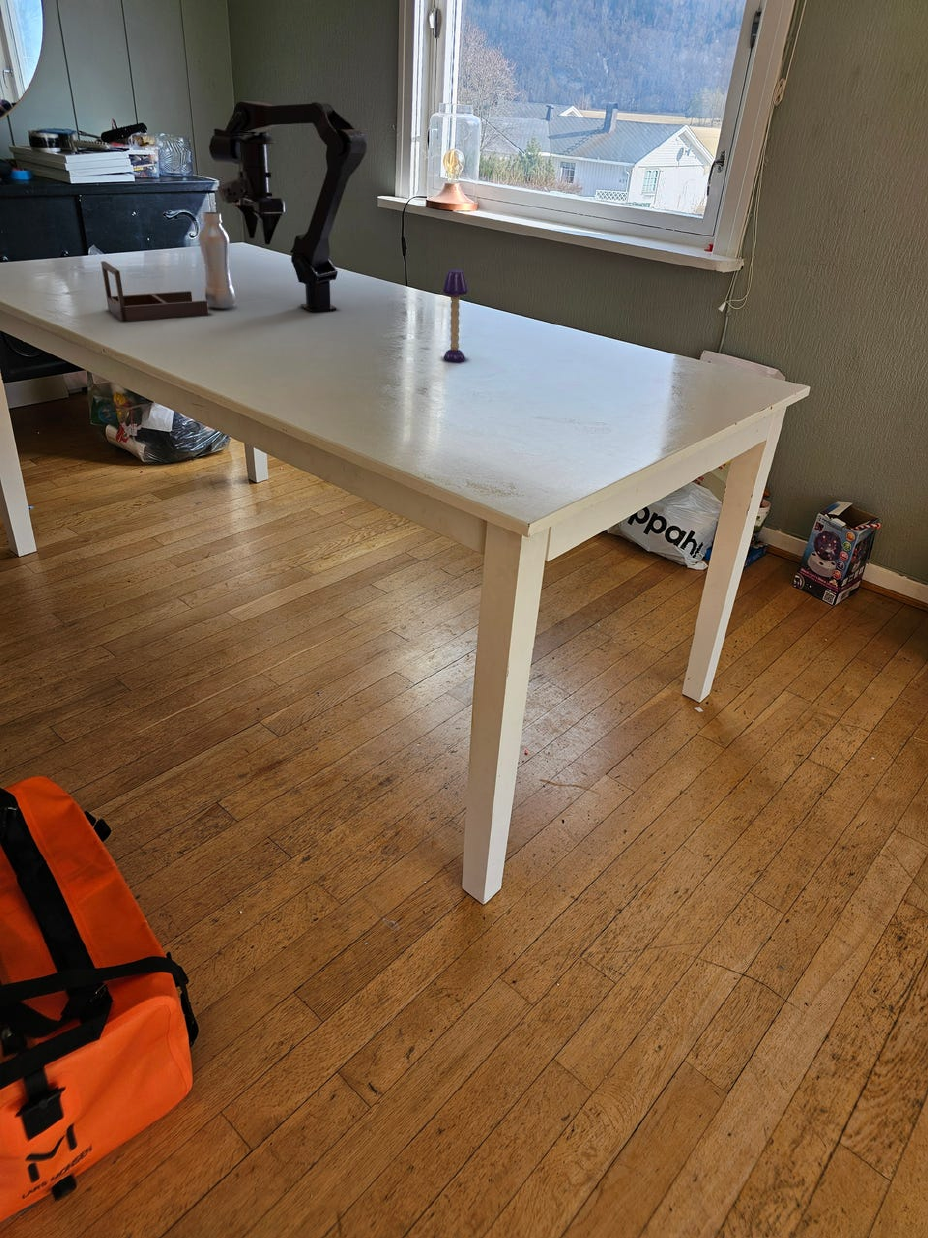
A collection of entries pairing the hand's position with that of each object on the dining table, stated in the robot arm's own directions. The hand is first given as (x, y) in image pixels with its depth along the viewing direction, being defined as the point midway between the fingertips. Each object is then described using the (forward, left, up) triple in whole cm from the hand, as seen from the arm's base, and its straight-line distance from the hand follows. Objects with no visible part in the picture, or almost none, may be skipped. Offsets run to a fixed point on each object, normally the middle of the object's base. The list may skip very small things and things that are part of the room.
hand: (259, 240), depth 200 cm
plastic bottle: (-6, +13, -13) cm, 19 cm away
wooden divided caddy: (-6, +27, -13) cm, 31 cm away
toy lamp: (-63, -14, -13) cm, 66 cm away
